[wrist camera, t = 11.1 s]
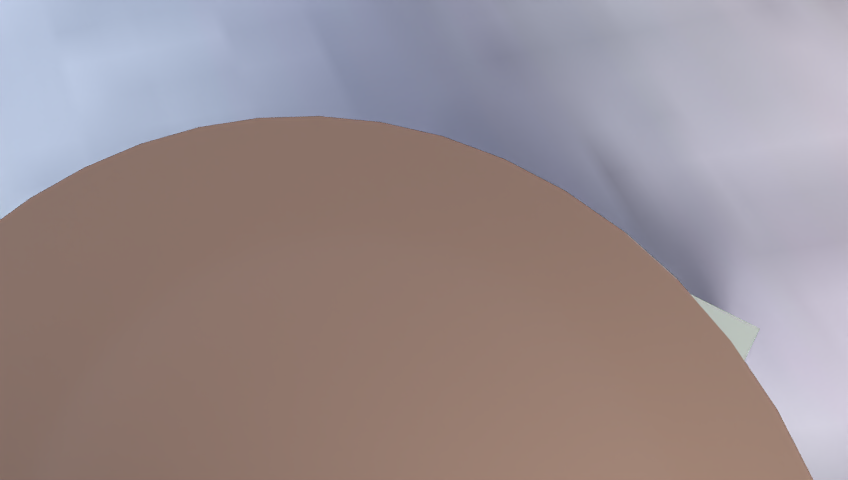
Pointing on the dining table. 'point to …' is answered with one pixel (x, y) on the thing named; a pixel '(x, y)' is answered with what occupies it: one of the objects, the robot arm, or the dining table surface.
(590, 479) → the cream jar
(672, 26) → the dining table surface
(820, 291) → the dining table surface
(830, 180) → the dining table surface
